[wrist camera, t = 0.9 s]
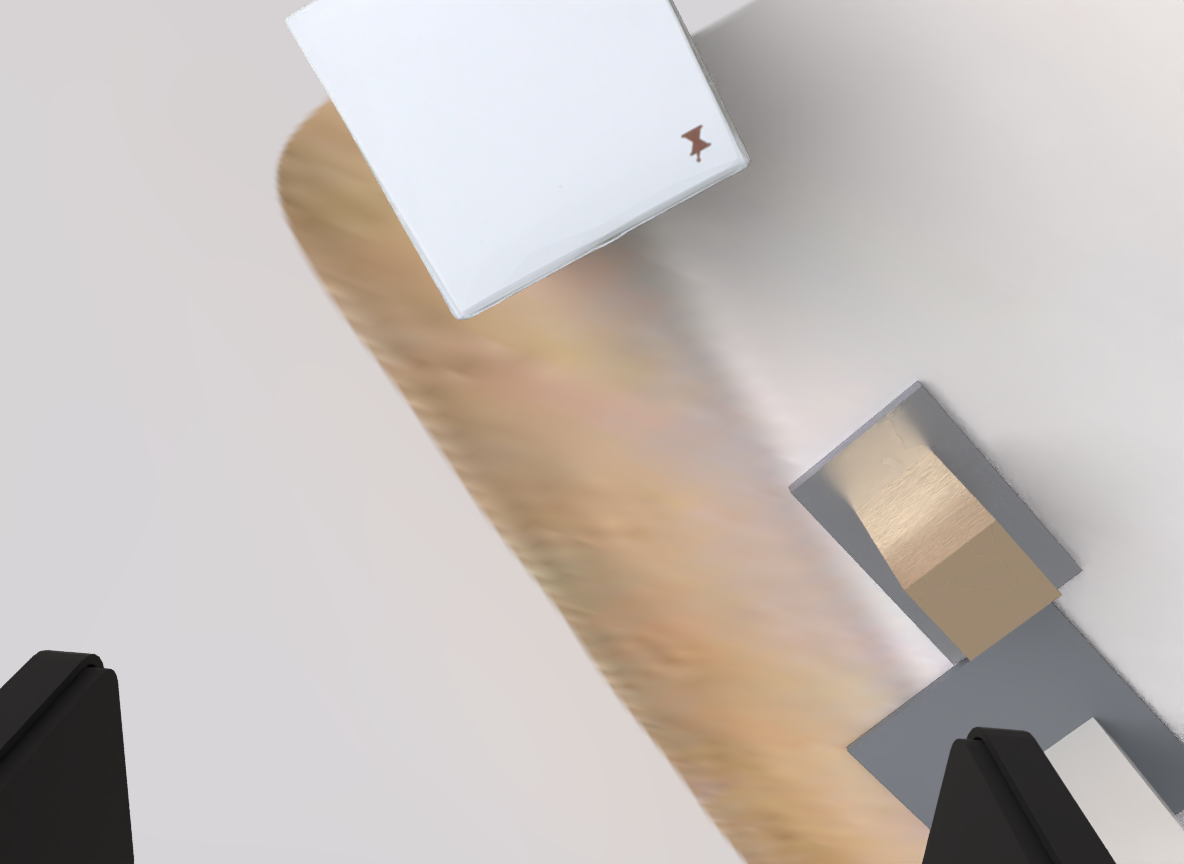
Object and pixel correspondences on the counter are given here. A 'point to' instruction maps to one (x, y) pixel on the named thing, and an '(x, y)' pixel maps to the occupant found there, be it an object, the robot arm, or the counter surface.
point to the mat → (1019, 713)
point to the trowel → (936, 526)
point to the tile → (1117, 798)
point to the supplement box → (520, 126)
